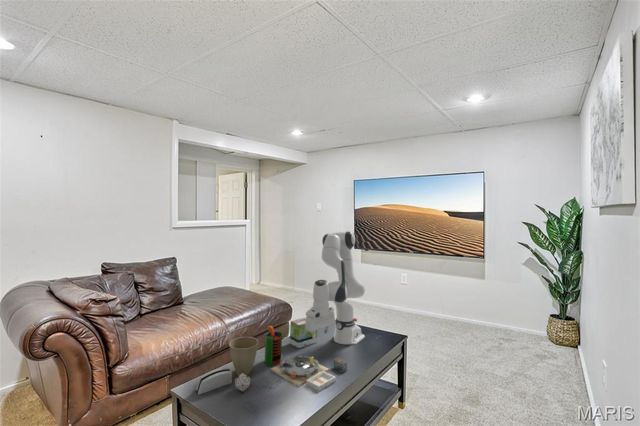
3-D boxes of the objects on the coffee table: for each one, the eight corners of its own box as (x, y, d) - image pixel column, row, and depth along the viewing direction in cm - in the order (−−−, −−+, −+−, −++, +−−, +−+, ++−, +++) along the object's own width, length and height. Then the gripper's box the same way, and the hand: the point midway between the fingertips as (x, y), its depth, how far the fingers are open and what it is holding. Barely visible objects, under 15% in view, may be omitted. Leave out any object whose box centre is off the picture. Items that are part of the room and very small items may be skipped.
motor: (277, 367, 180) (277, 331, 179) (261, 365, 182) (262, 329, 181) (283, 358, 190) (283, 324, 189) (268, 357, 192) (268, 323, 191)
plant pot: (222, 375, 171) (223, 344, 170) (241, 363, 184) (241, 334, 184) (245, 382, 164) (246, 350, 164) (263, 369, 177) (263, 340, 177)
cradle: (323, 375, 172) (323, 370, 172) (335, 381, 166) (335, 376, 166) (306, 384, 163) (306, 379, 163) (318, 391, 157) (318, 386, 157)
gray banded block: (338, 365, 183) (338, 357, 183) (347, 370, 178) (347, 362, 178) (333, 367, 181) (333, 359, 181) (342, 372, 176) (342, 364, 175)
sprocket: (324, 362, 184) (324, 349, 183) (312, 381, 163) (312, 367, 163) (288, 356, 190) (289, 344, 189) (273, 374, 169) (273, 361, 169)
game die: (246, 397, 158) (258, 383, 156) (231, 398, 152) (243, 383, 150) (241, 381, 164) (252, 367, 162) (227, 380, 158) (238, 366, 157)
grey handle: (227, 378, 168) (230, 362, 165) (231, 385, 164) (234, 369, 162) (194, 389, 157) (197, 373, 154) (198, 397, 154) (200, 380, 151)
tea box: (299, 348, 203) (299, 325, 203) (289, 343, 211) (289, 320, 210) (317, 342, 213) (317, 319, 213) (307, 337, 221) (308, 315, 220)
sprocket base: (300, 357, 192) (300, 355, 192) (328, 370, 177) (328, 368, 177) (270, 370, 176) (270, 368, 176) (299, 386, 161) (299, 384, 161)
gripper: (329, 305, 190) (329, 328, 190) (303, 313, 175) (303, 338, 176) (337, 307, 185) (337, 331, 186) (311, 316, 171) (311, 342, 171)
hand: (320, 335), depth 181 cm, fingers open, 8 cm apart
